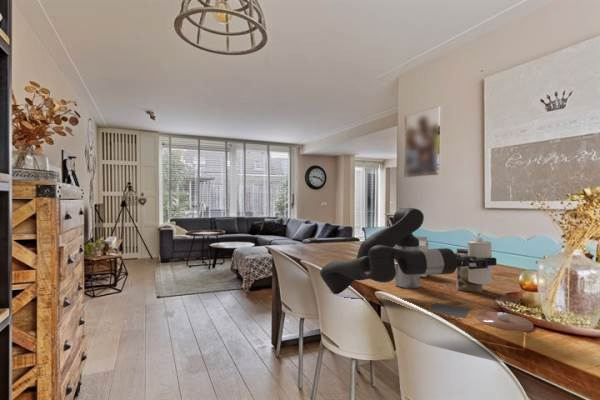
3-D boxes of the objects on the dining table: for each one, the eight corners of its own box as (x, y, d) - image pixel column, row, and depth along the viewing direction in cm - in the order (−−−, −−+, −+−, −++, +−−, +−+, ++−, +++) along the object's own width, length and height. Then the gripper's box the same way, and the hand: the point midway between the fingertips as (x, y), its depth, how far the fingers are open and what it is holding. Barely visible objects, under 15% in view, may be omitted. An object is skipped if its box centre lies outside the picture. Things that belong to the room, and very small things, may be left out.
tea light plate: (472, 324, 91) (472, 313, 91) (479, 311, 102) (479, 301, 102) (533, 336, 82) (533, 324, 82) (533, 320, 94) (533, 309, 94)
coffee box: (456, 290, 128) (456, 250, 128) (456, 286, 133) (455, 248, 134) (483, 292, 124) (482, 251, 124) (481, 288, 130) (480, 249, 130)
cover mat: (426, 312, 101) (426, 310, 101) (435, 303, 110) (435, 302, 110) (465, 319, 95) (465, 317, 95) (470, 309, 104) (470, 308, 104)
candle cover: (466, 282, 95) (465, 237, 95) (470, 278, 99) (469, 235, 100) (490, 285, 91) (489, 238, 91) (493, 281, 96) (492, 236, 96)
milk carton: (426, 277, 151) (425, 237, 151) (410, 275, 155) (410, 236, 155) (428, 274, 157) (428, 236, 157) (414, 273, 161) (413, 235, 161)
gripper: (423, 269, 101) (471, 267, 103) (449, 279, 86) (505, 277, 88) (422, 245, 101) (471, 244, 103) (449, 252, 86) (505, 250, 88)
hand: (487, 259), depth 96 cm, fingers closed on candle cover, 6 cm apart
